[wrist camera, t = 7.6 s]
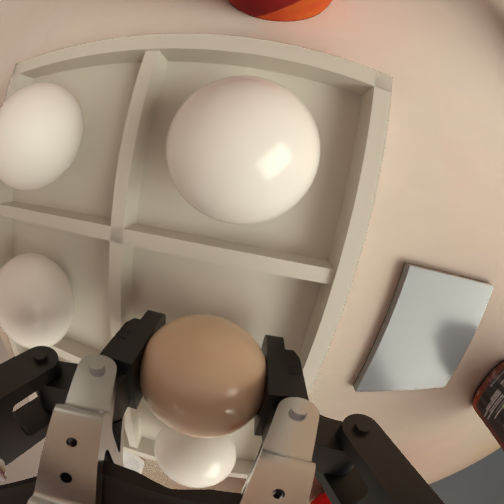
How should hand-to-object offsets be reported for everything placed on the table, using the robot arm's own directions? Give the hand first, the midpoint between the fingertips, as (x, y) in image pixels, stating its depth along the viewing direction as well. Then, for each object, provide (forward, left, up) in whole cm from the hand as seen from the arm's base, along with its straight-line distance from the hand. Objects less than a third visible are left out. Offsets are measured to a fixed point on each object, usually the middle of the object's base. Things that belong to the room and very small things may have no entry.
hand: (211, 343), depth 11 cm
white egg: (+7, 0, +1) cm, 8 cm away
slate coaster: (-1, +13, -2) cm, 13 cm away
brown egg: (0, 0, +2) cm, 2 cm away
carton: (0, -4, -2) cm, 5 cm away
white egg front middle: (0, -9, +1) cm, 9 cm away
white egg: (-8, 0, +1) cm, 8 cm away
